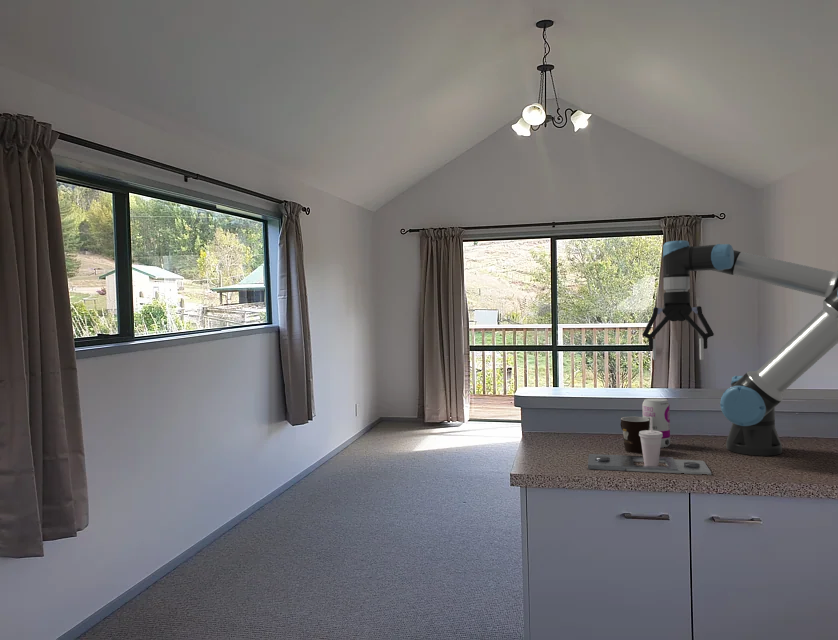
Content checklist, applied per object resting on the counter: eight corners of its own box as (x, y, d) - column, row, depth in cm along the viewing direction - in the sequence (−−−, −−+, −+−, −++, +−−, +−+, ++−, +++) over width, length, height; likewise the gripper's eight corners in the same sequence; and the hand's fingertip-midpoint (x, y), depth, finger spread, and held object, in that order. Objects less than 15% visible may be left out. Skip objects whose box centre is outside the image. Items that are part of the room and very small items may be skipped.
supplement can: (672, 444, 200) (671, 398, 200) (667, 449, 193) (666, 402, 193) (646, 441, 205) (645, 397, 204) (640, 446, 198) (639, 400, 197)
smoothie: (666, 465, 174) (666, 416, 174) (658, 470, 169) (657, 420, 169) (644, 462, 179) (644, 414, 178) (635, 466, 174) (634, 417, 174)
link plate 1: (672, 461, 178) (672, 455, 178) (678, 473, 166) (678, 466, 166) (588, 457, 185) (588, 451, 185) (588, 469, 173) (587, 462, 173)
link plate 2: (703, 462, 176) (703, 458, 176) (711, 474, 164) (711, 470, 164) (624, 459, 182) (624, 455, 182) (626, 470, 170) (626, 466, 170)
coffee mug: (652, 454, 188) (651, 421, 187) (623, 453, 189) (622, 421, 189) (646, 445, 199) (645, 415, 199) (618, 445, 201) (618, 414, 201)
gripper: (718, 290, 188) (719, 358, 189) (633, 292, 196) (634, 358, 196) (723, 289, 181) (724, 360, 182) (634, 292, 188) (635, 360, 189)
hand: (677, 359), depth 189 cm, fingers open, 13 cm apart
